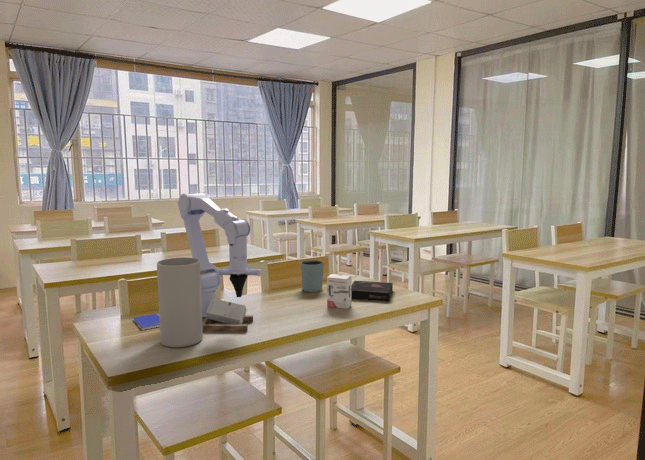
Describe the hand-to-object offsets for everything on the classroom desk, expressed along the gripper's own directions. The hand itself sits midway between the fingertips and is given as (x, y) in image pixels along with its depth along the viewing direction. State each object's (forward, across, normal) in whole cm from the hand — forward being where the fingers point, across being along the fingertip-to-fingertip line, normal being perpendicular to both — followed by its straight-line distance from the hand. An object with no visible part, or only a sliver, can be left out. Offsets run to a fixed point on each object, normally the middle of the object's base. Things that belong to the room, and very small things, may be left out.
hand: (239, 296), depth 160 cm
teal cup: (+11, +21, +48) cm, 53 cm away
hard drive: (+11, -32, +2) cm, 34 cm away
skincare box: (+7, +1, +1) cm, 7 cm away
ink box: (+10, +33, +24) cm, 42 cm away
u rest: (+10, -4, 0) cm, 11 cm away
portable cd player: (+11, +46, +41) cm, 63 cm away
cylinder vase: (+10, -15, -14) cm, 23 cm away
